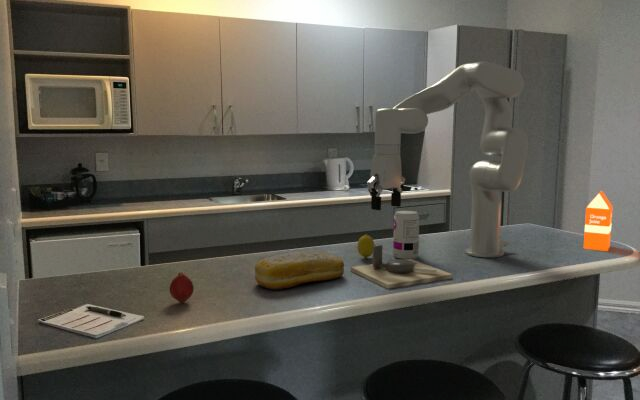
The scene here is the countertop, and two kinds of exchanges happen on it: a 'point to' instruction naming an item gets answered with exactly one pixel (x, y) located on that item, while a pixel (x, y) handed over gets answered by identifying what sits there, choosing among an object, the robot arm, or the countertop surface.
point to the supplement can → (406, 234)
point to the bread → (297, 269)
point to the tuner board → (400, 275)
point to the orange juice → (598, 223)
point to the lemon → (365, 246)
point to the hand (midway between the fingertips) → (386, 207)
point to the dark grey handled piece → (395, 263)
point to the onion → (181, 288)
